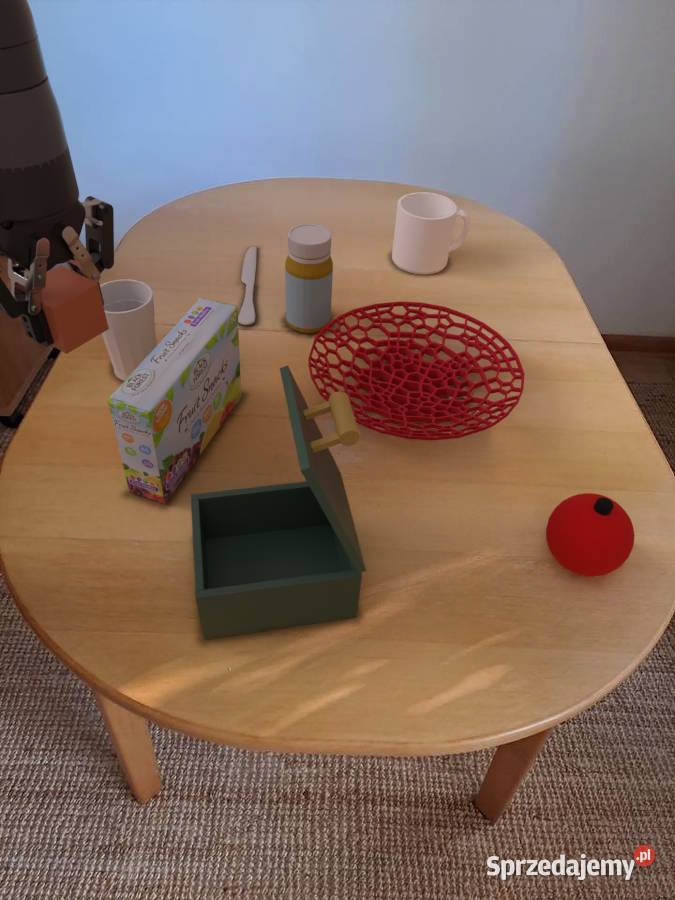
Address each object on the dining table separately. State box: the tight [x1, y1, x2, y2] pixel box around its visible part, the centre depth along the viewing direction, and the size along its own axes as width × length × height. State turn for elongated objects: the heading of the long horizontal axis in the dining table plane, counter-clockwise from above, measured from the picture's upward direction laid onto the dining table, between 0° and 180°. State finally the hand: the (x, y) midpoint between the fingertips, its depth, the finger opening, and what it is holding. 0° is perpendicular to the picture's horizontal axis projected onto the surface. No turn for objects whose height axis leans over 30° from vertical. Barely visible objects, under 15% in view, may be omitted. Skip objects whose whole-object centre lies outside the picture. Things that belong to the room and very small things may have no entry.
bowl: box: [307, 300, 525, 442], centre depth 93 cm, size 29×30×5 cm
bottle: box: [284, 223, 334, 335], centre depth 100 cm, size 7×7×15 cm
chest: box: [190, 480, 363, 641], centre depth 70 cm, size 16×13×8 cm
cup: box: [100, 278, 158, 382], centre depth 91 cm, size 8×8×12 cm
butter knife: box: [238, 245, 257, 326], centre depth 112 cm, size 1×24×3 cm
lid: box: [279, 365, 367, 574], centre depth 62 cm, size 16×13×5 cm
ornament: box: [545, 492, 636, 578], centre depth 72 cm, size 9×9×10 cm
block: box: [41, 264, 109, 355], centre depth 62 cm, size 5×5×5 cm
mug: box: [391, 191, 471, 276], centre depth 116 cm, size 13×10×10 cm
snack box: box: [107, 297, 243, 505], centre depth 81 cm, size 21×6×15 cm, turn 161°
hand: (68, 327), depth 63 cm, fingers closed on block, 5 cm apart
